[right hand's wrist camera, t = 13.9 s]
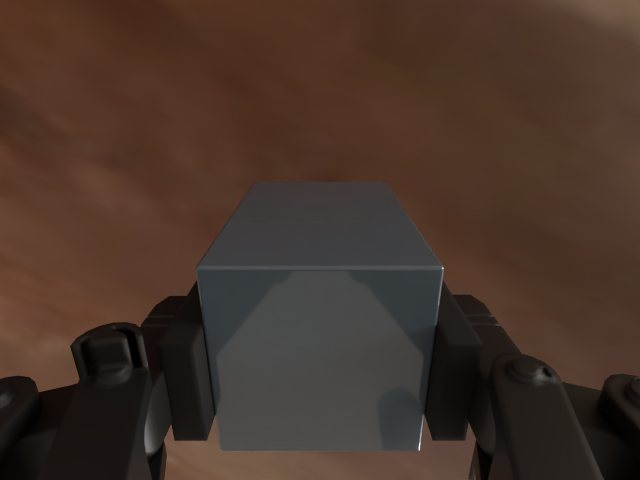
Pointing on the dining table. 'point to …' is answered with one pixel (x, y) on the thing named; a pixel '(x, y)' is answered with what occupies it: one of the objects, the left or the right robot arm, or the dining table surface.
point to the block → (319, 320)
